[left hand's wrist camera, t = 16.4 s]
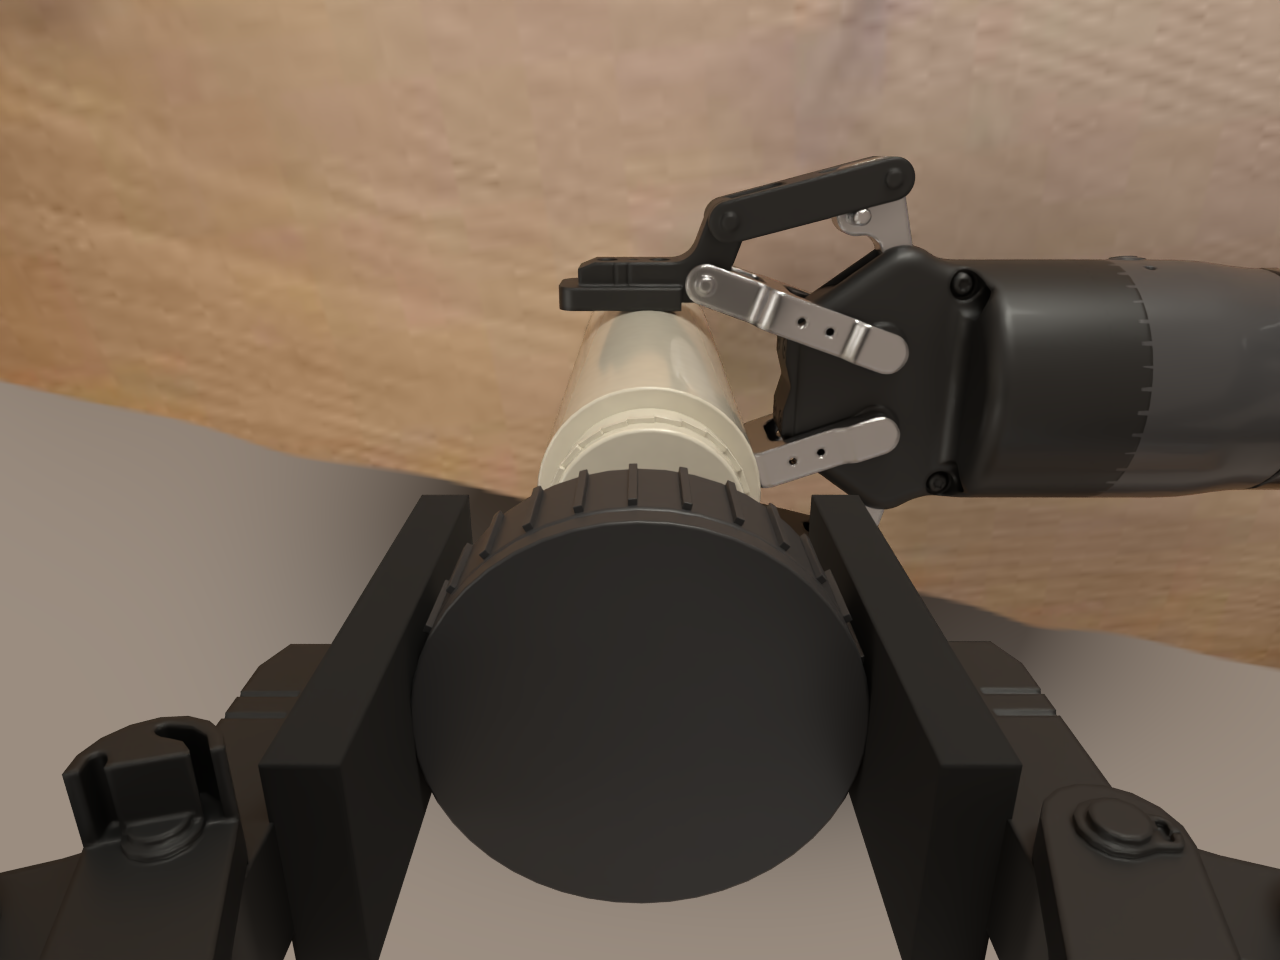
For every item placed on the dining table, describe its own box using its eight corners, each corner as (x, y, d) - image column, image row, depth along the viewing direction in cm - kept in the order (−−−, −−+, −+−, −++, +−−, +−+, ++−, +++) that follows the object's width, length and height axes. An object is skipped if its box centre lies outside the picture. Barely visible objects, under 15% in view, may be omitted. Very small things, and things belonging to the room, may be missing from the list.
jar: (719, 288, 34) (795, 430, 17) (695, 406, 35) (741, 646, 18) (597, 266, 33) (545, 387, 16) (578, 386, 35) (513, 610, 18)
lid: (482, 834, 13) (460, 929, 12) (390, 493, 11) (349, 552, 10) (855, 792, 13) (885, 883, 11) (832, 433, 11) (864, 483, 9)
